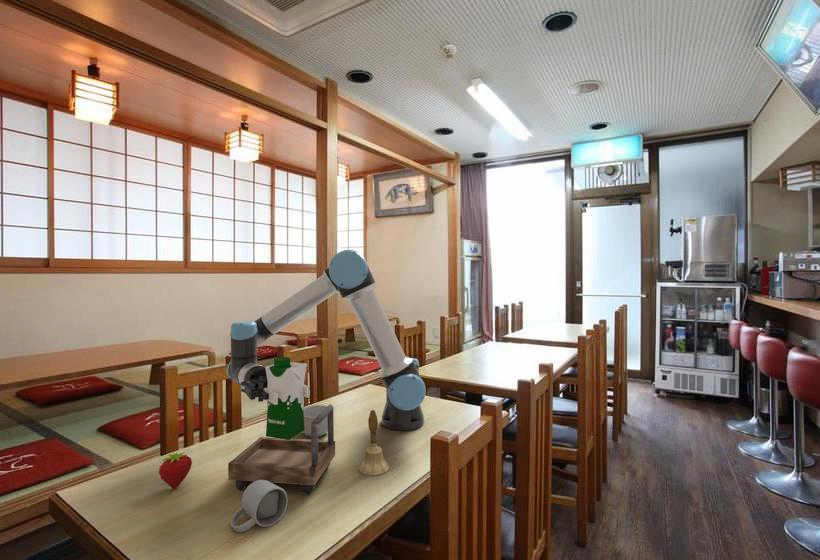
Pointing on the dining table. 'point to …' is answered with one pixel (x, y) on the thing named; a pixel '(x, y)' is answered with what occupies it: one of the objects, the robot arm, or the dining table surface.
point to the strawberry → (175, 469)
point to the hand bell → (373, 452)
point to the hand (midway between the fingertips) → (292, 395)
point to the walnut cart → (286, 458)
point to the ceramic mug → (261, 505)
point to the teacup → (311, 414)
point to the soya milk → (286, 398)
